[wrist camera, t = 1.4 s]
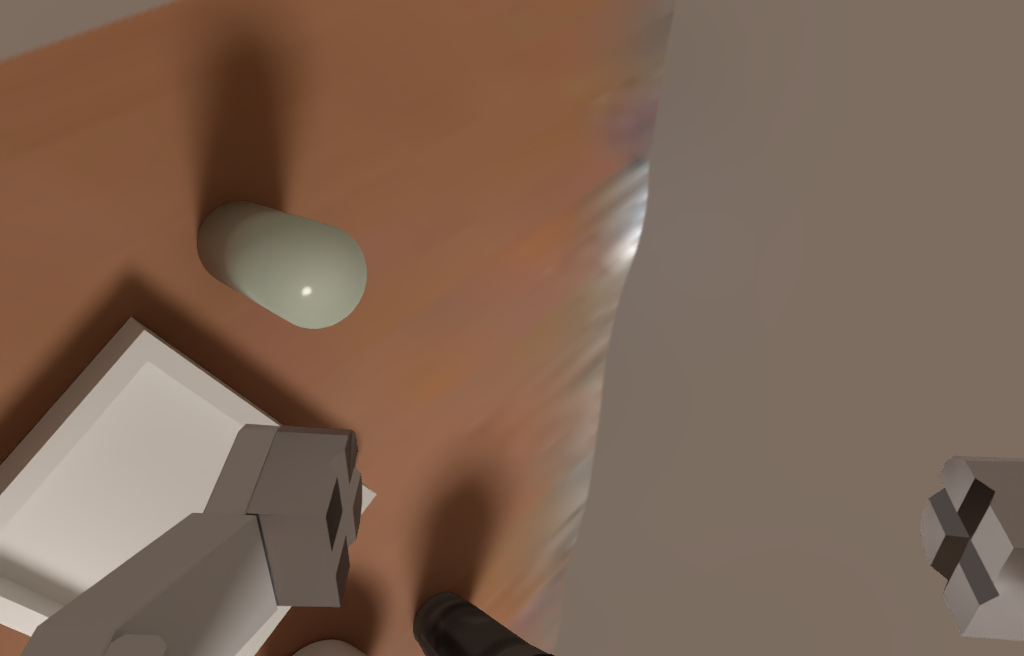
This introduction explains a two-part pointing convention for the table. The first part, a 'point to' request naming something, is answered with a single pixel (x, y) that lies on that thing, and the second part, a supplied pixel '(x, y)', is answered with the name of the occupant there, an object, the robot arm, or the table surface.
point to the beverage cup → (465, 631)
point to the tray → (115, 473)
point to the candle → (329, 649)
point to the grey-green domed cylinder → (284, 262)
